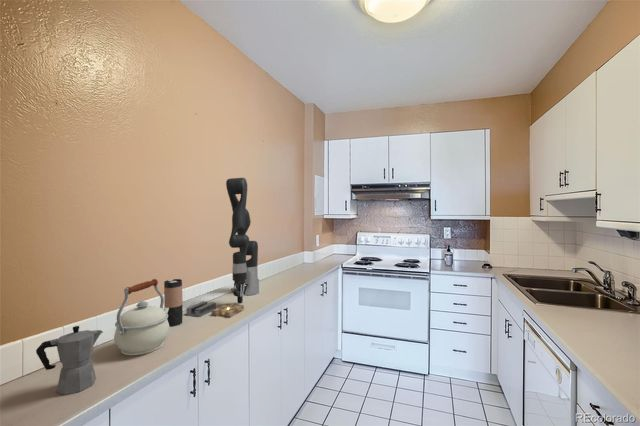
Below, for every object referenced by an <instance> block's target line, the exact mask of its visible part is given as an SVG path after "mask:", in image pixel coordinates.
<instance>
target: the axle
mask: <svg viewBox="0 0 640 426" xmlns="http://www.w3.org/2000/svg"><path fill="white" fill-rule="evenodd" d="M230 304H231V305H229V306H227V307H225V308H223V309H221V310H220V312H219V316H221V317H225V312H227V311H229V310H231V309H233V308H235V307H237V306H238V304H237V303H230Z"/></svg>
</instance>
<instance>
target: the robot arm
mask: <svg viewBox="0 0 640 426" xmlns="http://www.w3.org/2000/svg"><path fill="white" fill-rule="evenodd" d="M225 182H226V183H225V186H226V190H227V194H228V198H229V201H230V206H231V208H232V216H231V233H230V236H229V240H228V245H229V246H230V248H232V249H236V248H237V249H239V250H238V251H235V252H233V253H232V267H231V268H232V281H233V282H234V283H233V287H231V289H230V290H231V292H232V294H233V297H237V299H236V300H237V304H240V305H241V304H243V303H244V301H243V299H244V298H243V297H244V296H255V295H257V294H260V278H259V277H258V273H259V272H258V269H259V268H258V260H259V257H258V255H259V244H258V242H257V241H256V240H250V237H249V236H248V235H247V232H248V230H249V228H250V226H251V223H252V222H251V221H252V220H251V217H250V212H249V210H248V209H247V207H246V206H247V199H248V198H247V197H248V183H247V182H248V181H247V179H246V178H245V177H234V178H233V177H232V178H228V179H226V181H225ZM237 195H240V198H239V199H238V196H237ZM247 256H250V258H249V259H248V260H247Z"/></svg>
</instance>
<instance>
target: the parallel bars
mask: <svg viewBox="0 0 640 426" xmlns="http://www.w3.org/2000/svg"><path fill="white" fill-rule="evenodd" d="M231 304H232V303H225V304H222V305H221V306H219V307H216V309H215V310H213V311H211V317H212V316H213V317H218V316H220V314H219V312H220V310H221V309H223V308H225V307H227V306H229V305H231ZM244 309H245V307H244V304H243V305H241V304H240V305H237V307H235V308H233V309H231V310H229V311H227V312H225V316H224V317H225V318H227V319H228V318H229V319H230V318H233V317H234V316H235V315H238V314H239V313H241V312H243V311H244Z"/></svg>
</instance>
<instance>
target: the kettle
mask: <svg viewBox="0 0 640 426" xmlns="http://www.w3.org/2000/svg"><path fill="white" fill-rule="evenodd" d="M158 284H159V281H158V279H157V278H153V279H151V280H149V281H144V282H141V283H137V284H134V285H133V286H126V287H124V290H123V291H124V299H123V301H122V303H121V305H120V307H119V309H118V311H117V314H116V322H115V323H114V326H115V328H116V329H115V332H114V335H113V341H114V344H115V346H116V347H117V348H118V349H119V350H120V353H121V354H122V355H124V356H131V357H133V356H141V355H146V354H149V353H152V352H155V351H156V350H157V351H158V350H159V349H160V348H161V347H162V346H163V345H164V344H165V340H166V339H167V337H168V336H169V333H170V326H169V323H168V320H167V318H168V314H167V313H168V310H169V308H164V295H163V294H162V292H161V291H160V290H159V288H158ZM152 286H153V288H154V291H156V293H157V294H158V295H159V299H160V305H159V306H156V305H149V303H148V302H147V301H145V300H141V301H139V302H138V303H137V304H136V307H133V308H131V309H129V310H126V311H125V312H124V313H123V311H124V308H125V306H126V304H127V302H128V300H129V296H130V295H131V294H132V293H137V292H139V291H143V290H145V289H148V288H150V287H152Z"/></svg>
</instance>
